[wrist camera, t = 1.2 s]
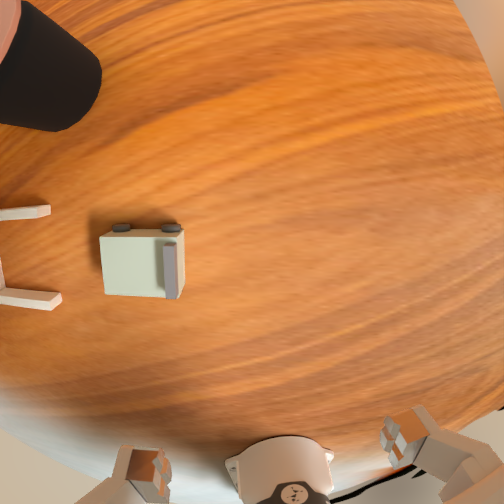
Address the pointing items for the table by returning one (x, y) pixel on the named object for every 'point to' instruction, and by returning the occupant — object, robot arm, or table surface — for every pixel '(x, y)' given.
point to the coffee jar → (43, 71)
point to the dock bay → (22, 296)
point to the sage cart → (143, 261)
